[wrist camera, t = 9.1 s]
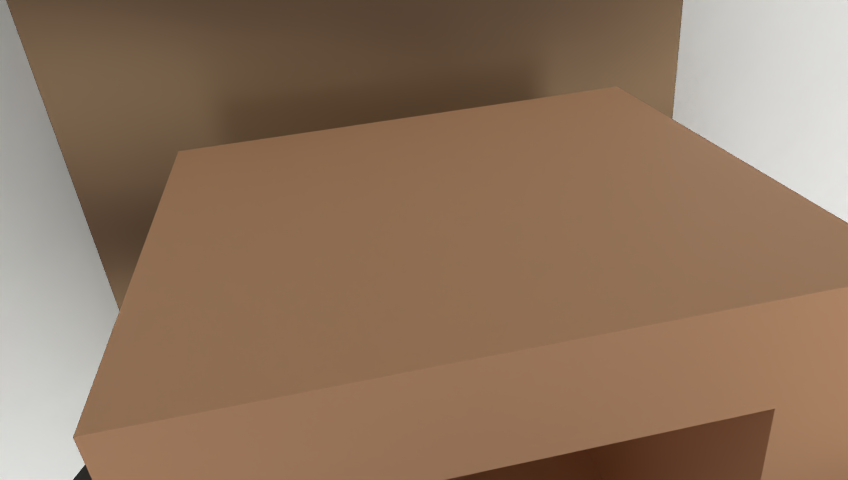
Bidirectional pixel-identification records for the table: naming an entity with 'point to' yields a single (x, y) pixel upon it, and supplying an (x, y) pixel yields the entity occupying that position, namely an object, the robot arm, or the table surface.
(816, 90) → the table surface
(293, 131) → the post board
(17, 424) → the table surface
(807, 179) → the table surface
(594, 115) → the collar
